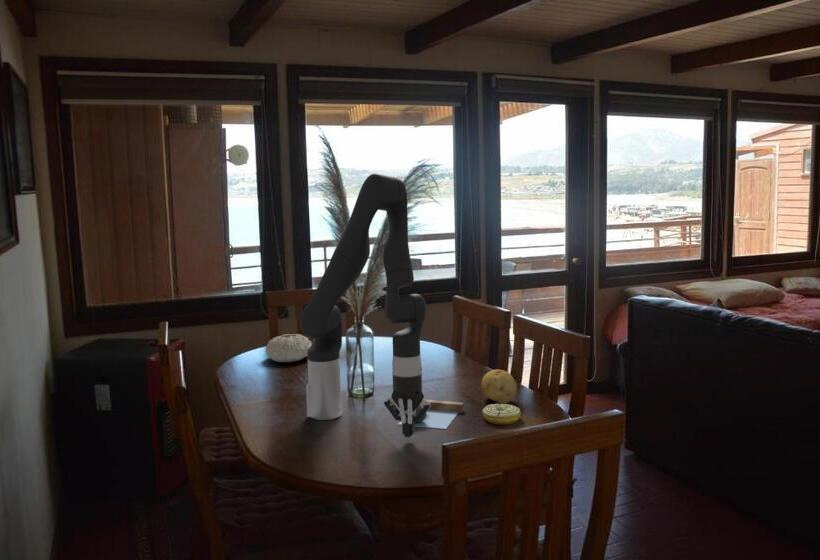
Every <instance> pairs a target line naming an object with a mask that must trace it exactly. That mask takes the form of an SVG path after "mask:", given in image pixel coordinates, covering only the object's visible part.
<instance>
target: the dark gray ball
mask: <svg viewBox="0 0 820 560" xmlns="http://www.w3.org/2000/svg"><path fill="white" fill-rule="evenodd" d="M421 410H422V408H421V404H420V405H419V406H418V407H417V408H416V412H415V416H417V415H418V414H419V412H420V411H421ZM425 417H426V413H425V414H424V415H423V417H422V418H421V419H420V420H419V421H418V422H414V423H421V422H422V421H423V420H424V419H425Z"/></svg>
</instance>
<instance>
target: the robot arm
mask: <svg viewBox="0 0 820 560" xmlns="http://www.w3.org/2000/svg"><path fill="white" fill-rule="evenodd" d="M407 192H408V191H407V187H406V184H405V183H404V181H403V180H402V179H400V178H398V177H395V176H390V175H386V174H384V173H383V174H382V173H372V174H369V176H367V177H366V179H365V180H364V181H363V184H362V185H361V188H360V190H359V193H358V194H357V198H356V199H355V200H356V201H355V204H354V206H353V209H352V213H351V215H350V217H349V219H348V221H347V224H346V226H345V229H344V231H343V233H342V235H341V237H340V240H339V241H338V243H337V245H336V247H335V248H334V251H333V254H332V255H331V257H330V260H329V263H328V264H327V267H326V268H325V271H324V273H323V275H322V277H321V279H320V282H318V283H319V284H318V286H317V288H316V289H315V291H314V293H313V294H312V295H311V297H310V299H309V300H308V302H307V304H306V305H305V307H304V309H303V311H302V313H301V315H300V321H299V322H300V323H299V324H300V328H301V331H302V333H303V335H305V337H308V338H314V341H313V343H312V345H311V346H310V348H309V349H308V352H307V356H306V357H307V372H308V373H307V375H308V376H307V377H308V383H307V384H306V386H305V389H306V390H305V392H306V393H305V394H306V396H305V397H306V413H307V414H306V417H307V418H311V419H314V420H316V421H317V420H318V421H331V420H335V419H337V418H340V417H341V416H342V414H343V413H342V411H343V409H342V408H343V407H342V387H341V386H342V384H341V361H340V359H341V358H340V356H341V355H340V353H341V352H340V351H341V349H342V345H343V319H342V318H343V317H342V313H341V311H340V310H341V309H339V307H338V306H337V303H338V302H339V300H340V299H341V298H342V297H343V295H345V293H346V292H347V291H348V290H349V289H350V288H351V287H352V286H353V285H354V284H355V282H356V281H357V280H359V277H360V276H361V275H362V272H363V271H364V268H365V266H366V264H367V262H368V260H369V258H370V254H371V253H370V252H371V246H370V245H371V243H370V233H369V232H370V227H371V224H372V222H373V220H374V217H375V216H376V214H377V211H384V212H385V211H386V215H387V218H388V223H389V225H388V226H389V229H388V234H387V239H386V241H385V244H384V247H383V255H382V258H383V259H382V261H383V267H384V272H385V278H386V280H385V281H386V292H385V301H384V315H385V318H386V319H387V321H388V322H390V323H391V324H403V323H408V324H407V326H406V327H405V328H403V329H402V330H399V331H396V332H395V333H393V334H392V361H391V362H392V363H391V365H392V369H391V371H392V374H391V375H392V393H391V397H388V398H387V399H386V400H384V402H383V404H384V406H385V408H386V409H387V410H388V411H389V413H390V415H392V417H393V419H395V421H399V422H400V421H401V422H402V425H401V429H402V431H401V432H402V435H404V438H411V437H412V436H413V435H414V433H415V426H414V422H418V421H419V420H420V419H421V418H422V417H423V415H424V414H425V413H426V412H427V410H428V409H429V408H430V407H431V406H432V403H431V402H427V401H426V400H427V399H426V398H425V396H424V393H423V382H422V380H423V377H422V376H423V375H422V374H423V373H422V372H423V367H422V359H421V335H422V331H423V327H424V323H425V318H426V314H427V303H426V300H425V298H424V297H423V296H422V295H421V294H419V293H411V294H410V293H409V294H408V293H407V294H400V293H399V291H400V289H401V288H405V287H408V286H410V285H412V284H413V283H414V281H415V277H414V272H413V265H412V259H411V254H410V248H409V247H410V246H409V229H408V228H409V227H408V226H409V222H408V221H409V219H408V218H409V216H408V193H407ZM424 398H425V399H426V400H425V399H424ZM420 403H422V405H421V408H422V410H421V411H420V412H419V414H418V415H417V416H415V412H416V408H417V407H418V406H419V405H420Z"/></svg>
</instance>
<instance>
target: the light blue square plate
mask: <svg viewBox="0 0 820 560" xmlns="http://www.w3.org/2000/svg"><path fill="white" fill-rule="evenodd" d="M459 414H460V413H459V412H451V411H440V410H429V409H428V410H427V412H426V417H425V419H424V420H423V421H422V422H421V423H414V428H415V427H417V428H427V429H439V430H447V429H448V427H449V426H450V425H451V424H452V422H453V421H454V420H455V418H456V417H457V416H458V415H459ZM397 426H402V422H401V421H399V422H398V423H397Z"/></svg>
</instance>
